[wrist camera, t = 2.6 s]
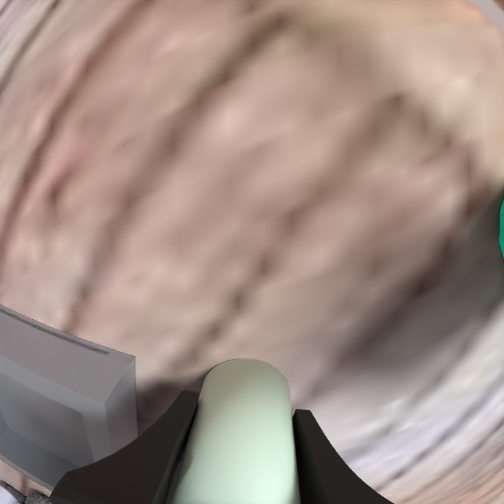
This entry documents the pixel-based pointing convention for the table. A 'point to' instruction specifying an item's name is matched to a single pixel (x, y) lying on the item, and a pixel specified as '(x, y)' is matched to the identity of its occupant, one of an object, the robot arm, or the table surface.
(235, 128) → the table surface
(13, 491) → the koala plush
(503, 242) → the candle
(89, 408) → the bin
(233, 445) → the cylinder
